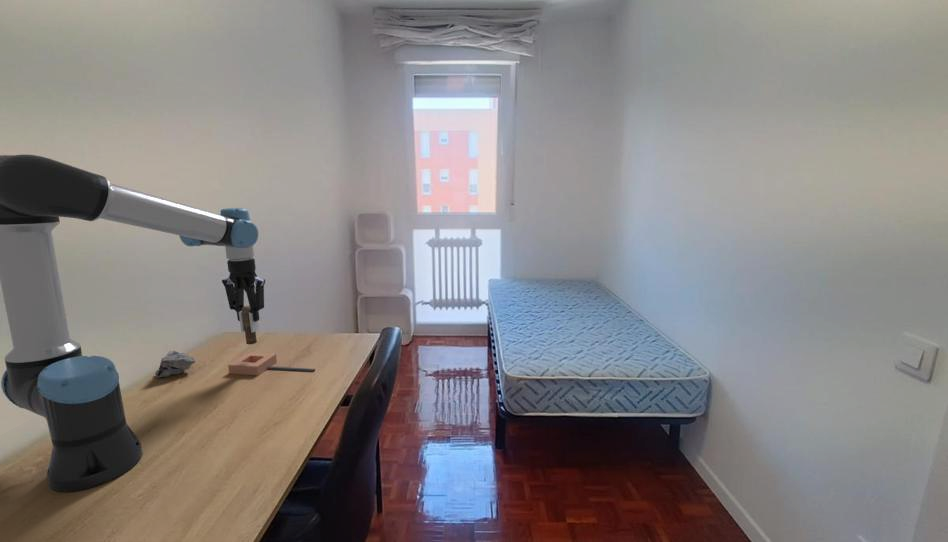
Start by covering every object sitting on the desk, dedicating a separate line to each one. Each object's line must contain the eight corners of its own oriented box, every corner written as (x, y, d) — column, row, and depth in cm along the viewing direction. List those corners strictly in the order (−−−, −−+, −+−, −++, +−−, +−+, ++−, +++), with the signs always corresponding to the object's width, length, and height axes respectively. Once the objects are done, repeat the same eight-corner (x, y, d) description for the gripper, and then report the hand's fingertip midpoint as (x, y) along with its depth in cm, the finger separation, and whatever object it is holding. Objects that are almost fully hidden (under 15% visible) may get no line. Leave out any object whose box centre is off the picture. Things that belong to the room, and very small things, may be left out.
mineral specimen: (177, 384, 139) (171, 388, 130) (153, 371, 136) (146, 374, 128) (199, 359, 142) (195, 361, 133) (176, 345, 140) (170, 347, 131)
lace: (313, 371, 136) (313, 369, 136) (267, 369, 138) (267, 367, 138) (315, 370, 137) (315, 368, 137) (268, 368, 139) (268, 366, 139)
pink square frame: (258, 375, 134) (257, 366, 133) (229, 373, 135) (228, 364, 134) (276, 362, 144) (275, 353, 143) (249, 360, 145) (248, 352, 144)
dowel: (252, 344, 136) (248, 308, 134) (244, 344, 137) (239, 308, 134) (258, 341, 139) (254, 305, 137) (250, 340, 140) (245, 305, 137)
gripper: (271, 256, 134) (279, 327, 140) (225, 256, 136) (235, 325, 142) (257, 261, 127) (266, 335, 132) (208, 260, 129) (219, 333, 134)
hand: (250, 330), depth 137 cm, fingers closed on dowel, 3 cm apart
